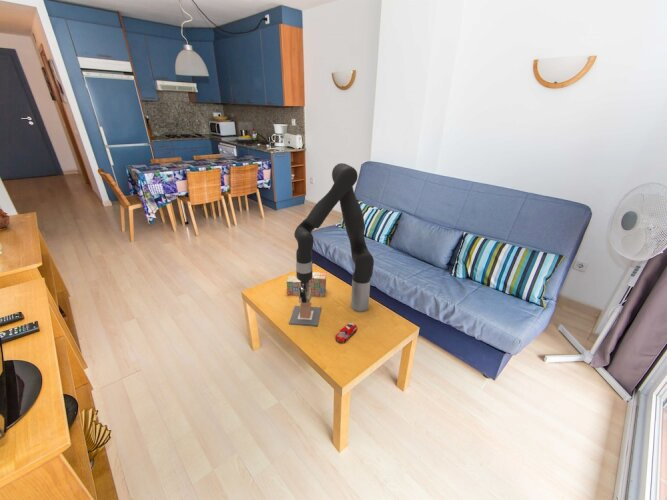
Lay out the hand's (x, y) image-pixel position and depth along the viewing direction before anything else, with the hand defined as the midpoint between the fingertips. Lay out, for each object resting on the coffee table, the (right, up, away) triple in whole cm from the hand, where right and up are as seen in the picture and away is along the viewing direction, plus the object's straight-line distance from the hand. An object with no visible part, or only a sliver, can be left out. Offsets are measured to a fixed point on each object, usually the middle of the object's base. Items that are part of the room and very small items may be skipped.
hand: (305, 298), depth 146 cm
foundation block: (0, -9, +4) cm, 10 cm away
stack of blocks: (-1, -1, +23) cm, 23 cm away
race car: (+20, -16, -6) cm, 26 cm away
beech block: (0, -1, 0) cm, 1 cm away
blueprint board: (0, -10, +5) cm, 11 cm away
